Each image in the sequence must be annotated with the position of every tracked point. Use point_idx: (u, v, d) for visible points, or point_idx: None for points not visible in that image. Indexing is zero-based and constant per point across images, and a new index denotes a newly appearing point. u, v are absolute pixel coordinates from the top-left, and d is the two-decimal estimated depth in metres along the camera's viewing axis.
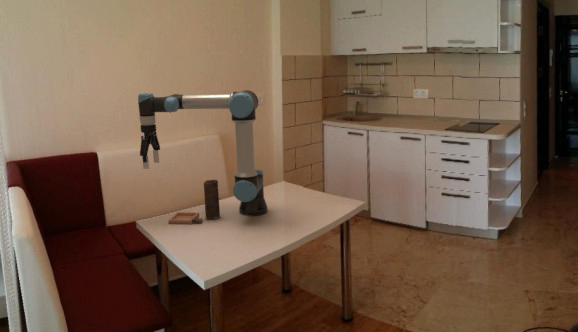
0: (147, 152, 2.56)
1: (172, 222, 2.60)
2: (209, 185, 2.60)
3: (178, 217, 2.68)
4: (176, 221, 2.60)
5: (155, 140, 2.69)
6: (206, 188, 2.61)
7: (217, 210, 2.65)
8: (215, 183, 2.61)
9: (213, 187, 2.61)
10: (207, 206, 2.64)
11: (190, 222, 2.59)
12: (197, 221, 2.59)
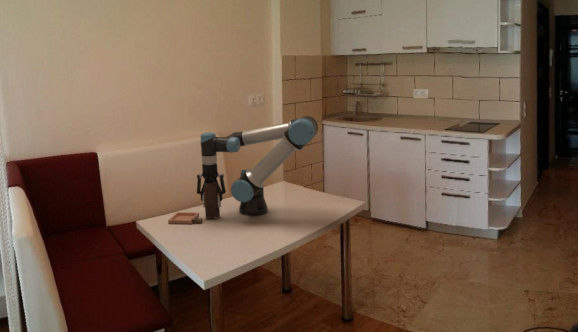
0: (203, 191, 2.64)
1: (172, 222, 2.60)
2: (209, 185, 2.60)
3: (178, 217, 2.68)
4: (176, 221, 2.60)
5: (221, 183, 2.63)
6: (206, 188, 2.61)
7: (217, 210, 2.65)
8: (215, 183, 2.61)
9: (213, 187, 2.61)
10: (207, 206, 2.64)
11: (190, 222, 2.59)
12: (197, 221, 2.59)
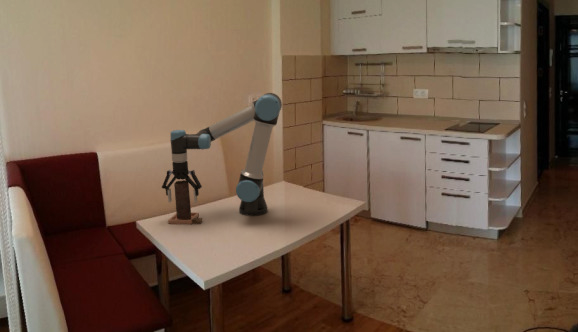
0: (168, 187, 2.62)
1: (172, 222, 2.60)
2: (179, 186, 2.58)
3: None
4: (176, 221, 2.60)
5: (194, 179, 2.60)
6: (177, 189, 2.59)
7: (188, 211, 2.63)
8: (185, 184, 2.59)
9: (183, 188, 2.59)
10: (178, 207, 2.61)
11: (190, 222, 2.59)
12: (197, 221, 2.59)
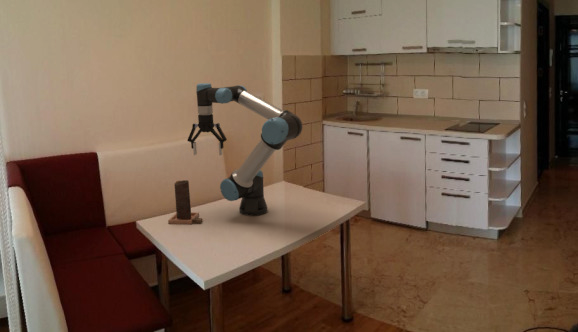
0: (194, 139, 2.67)
1: (172, 222, 2.60)
2: (179, 186, 2.58)
3: None
4: (176, 221, 2.60)
5: None
6: (177, 189, 2.59)
7: (188, 211, 2.63)
8: (186, 184, 2.59)
9: (184, 188, 2.59)
10: (178, 207, 2.61)
11: (190, 222, 2.59)
12: (197, 221, 2.59)
